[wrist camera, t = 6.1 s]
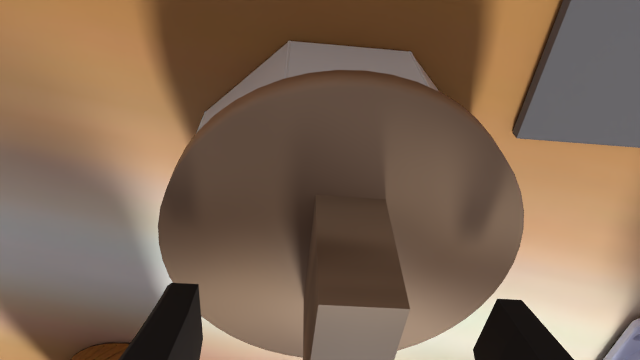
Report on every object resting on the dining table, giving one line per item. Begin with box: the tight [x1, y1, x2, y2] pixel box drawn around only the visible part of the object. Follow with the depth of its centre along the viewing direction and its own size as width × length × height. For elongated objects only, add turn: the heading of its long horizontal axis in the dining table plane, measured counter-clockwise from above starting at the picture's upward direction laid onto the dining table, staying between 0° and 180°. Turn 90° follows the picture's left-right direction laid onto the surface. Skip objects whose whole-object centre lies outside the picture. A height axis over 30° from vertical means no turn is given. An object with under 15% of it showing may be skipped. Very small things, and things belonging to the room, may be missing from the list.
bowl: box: [196, 40, 439, 133], centre depth 15 cm, size 9×9×4 cm
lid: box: [158, 70, 524, 360], centre depth 12 cm, size 10×10×4 cm
